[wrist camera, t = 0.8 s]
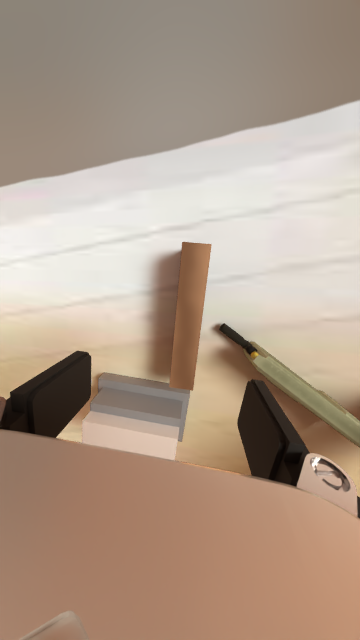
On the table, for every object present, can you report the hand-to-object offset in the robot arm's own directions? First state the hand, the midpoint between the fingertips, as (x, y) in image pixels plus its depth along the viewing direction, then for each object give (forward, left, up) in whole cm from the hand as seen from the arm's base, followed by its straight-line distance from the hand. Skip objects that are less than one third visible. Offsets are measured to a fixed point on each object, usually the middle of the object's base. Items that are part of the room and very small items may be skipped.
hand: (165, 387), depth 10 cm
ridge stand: (+5, +18, -19) cm, 26 cm away
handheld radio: (-17, +6, -19) cm, 26 cm away
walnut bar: (-1, 0, -19) cm, 19 cm away
